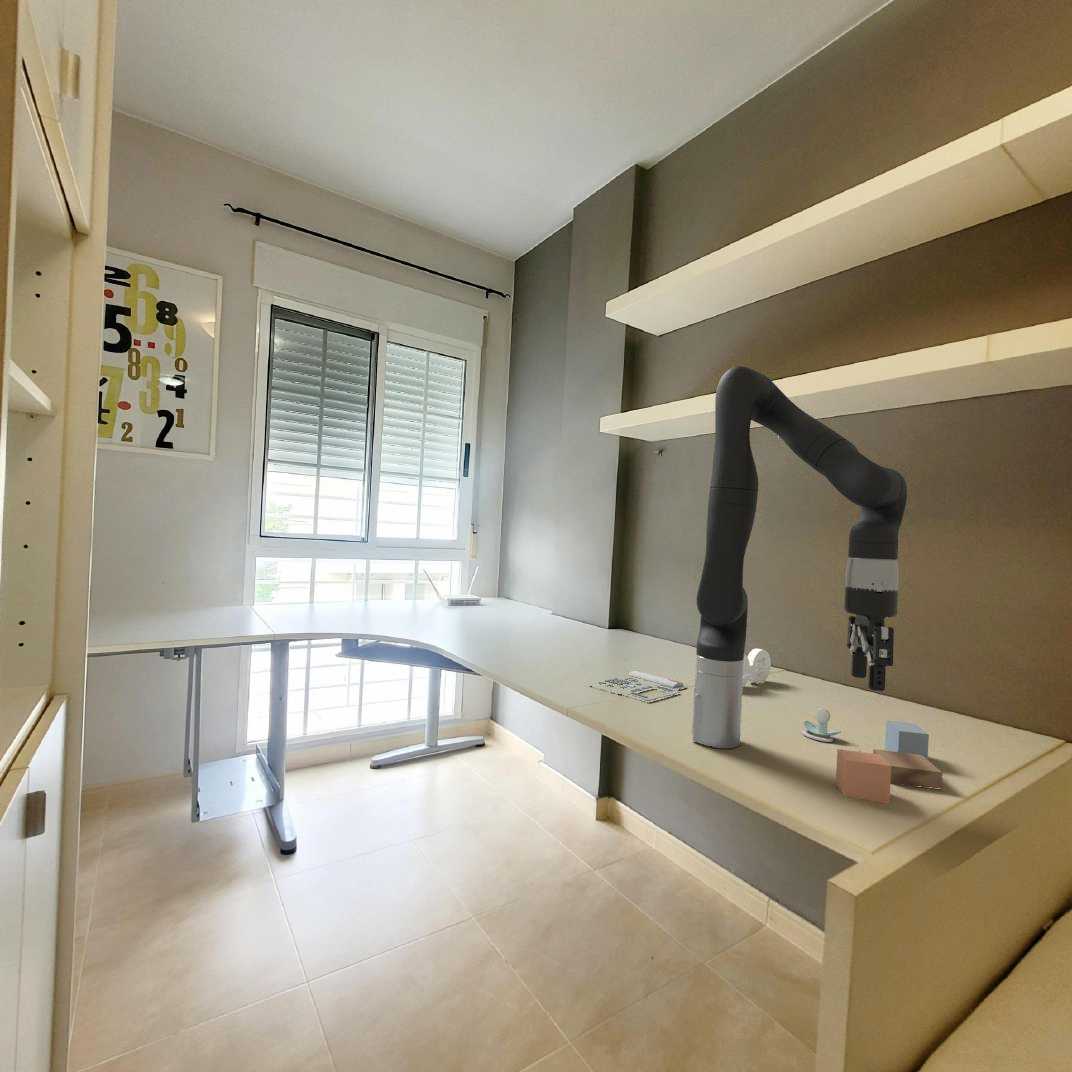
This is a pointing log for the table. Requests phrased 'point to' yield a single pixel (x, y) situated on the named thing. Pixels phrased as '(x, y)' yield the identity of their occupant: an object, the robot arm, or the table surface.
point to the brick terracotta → (863, 775)
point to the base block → (911, 769)
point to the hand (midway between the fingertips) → (866, 683)
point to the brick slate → (906, 738)
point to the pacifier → (819, 727)
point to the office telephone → (641, 687)
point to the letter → (756, 666)
